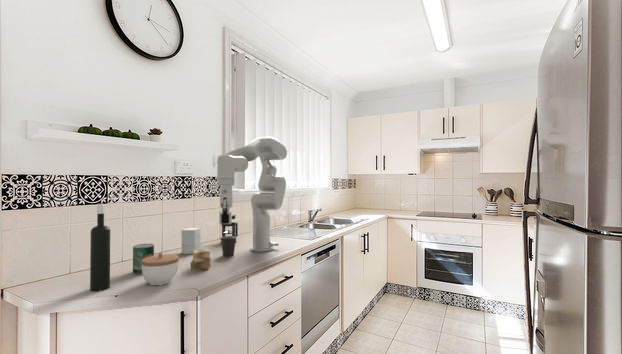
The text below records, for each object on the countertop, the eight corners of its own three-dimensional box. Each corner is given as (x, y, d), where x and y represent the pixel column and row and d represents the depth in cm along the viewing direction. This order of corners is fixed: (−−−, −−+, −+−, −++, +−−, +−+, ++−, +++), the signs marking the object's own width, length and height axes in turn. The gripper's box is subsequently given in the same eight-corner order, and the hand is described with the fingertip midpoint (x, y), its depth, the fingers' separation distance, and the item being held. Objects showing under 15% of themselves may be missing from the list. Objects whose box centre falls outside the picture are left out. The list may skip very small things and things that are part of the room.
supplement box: (201, 251, 165) (201, 227, 165) (194, 254, 158) (194, 230, 158) (188, 250, 166) (188, 227, 166) (180, 254, 158) (181, 229, 158)
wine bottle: (87, 289, 107) (87, 204, 107) (105, 284, 112) (105, 203, 112) (94, 292, 104) (95, 204, 104) (113, 287, 109) (113, 203, 109)
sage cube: (231, 222, 141) (231, 211, 141) (231, 223, 136) (231, 212, 136) (220, 222, 140) (220, 211, 140) (219, 224, 135) (219, 212, 135)
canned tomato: (134, 270, 130) (134, 244, 130) (154, 268, 133) (154, 242, 133) (131, 275, 123) (131, 248, 123) (153, 273, 126) (153, 246, 126)
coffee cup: (216, 255, 154) (217, 236, 155) (230, 253, 160) (230, 234, 160) (225, 258, 149) (225, 238, 149) (239, 255, 155) (239, 236, 155)
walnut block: (210, 266, 136) (210, 257, 136) (207, 271, 129) (207, 261, 129) (194, 267, 135) (194, 258, 135) (190, 271, 128) (190, 262, 128)
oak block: (207, 257, 137) (207, 248, 137) (209, 260, 131) (209, 251, 131) (192, 259, 134) (192, 250, 134) (194, 262, 128) (194, 252, 129)
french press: (226, 245, 180) (226, 206, 180) (216, 243, 186) (216, 205, 186) (241, 241, 190) (241, 205, 190) (231, 240, 195) (232, 204, 195)
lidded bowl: (176, 286, 110) (176, 255, 110) (137, 290, 106) (137, 258, 106) (180, 276, 122) (180, 248, 122) (145, 278, 118) (145, 250, 119)
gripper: (233, 182, 130) (233, 225, 130) (235, 182, 147) (235, 220, 147) (215, 182, 129) (214, 225, 129) (219, 182, 146) (218, 220, 145)
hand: (225, 222), depth 138 cm, fingers closed on sage cube, 5 cm apart
